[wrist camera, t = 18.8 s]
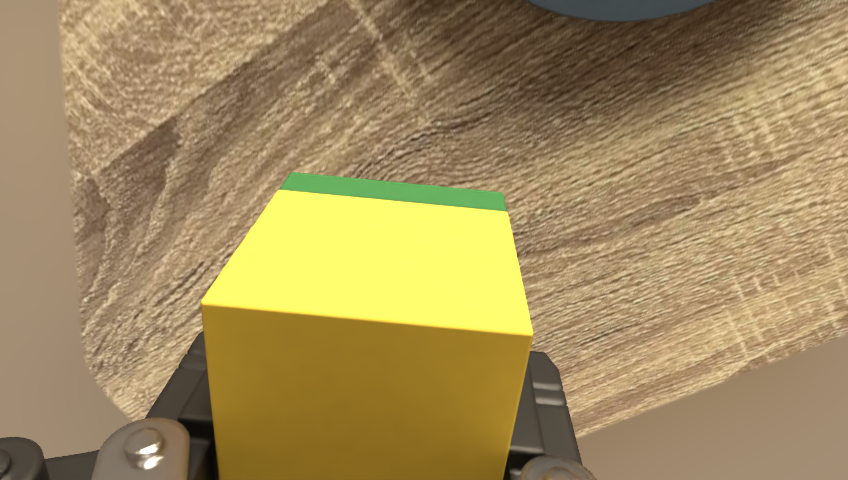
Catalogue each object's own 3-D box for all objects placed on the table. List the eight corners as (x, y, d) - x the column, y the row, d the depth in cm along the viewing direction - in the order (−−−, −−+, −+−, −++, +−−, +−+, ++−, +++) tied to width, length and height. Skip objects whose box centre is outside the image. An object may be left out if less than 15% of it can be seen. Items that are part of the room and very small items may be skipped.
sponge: (294, 419, 15) (231, 614, 11) (290, 170, 12) (198, 301, 8) (464, 435, 15) (470, 636, 11) (504, 191, 12) (534, 333, 8)
